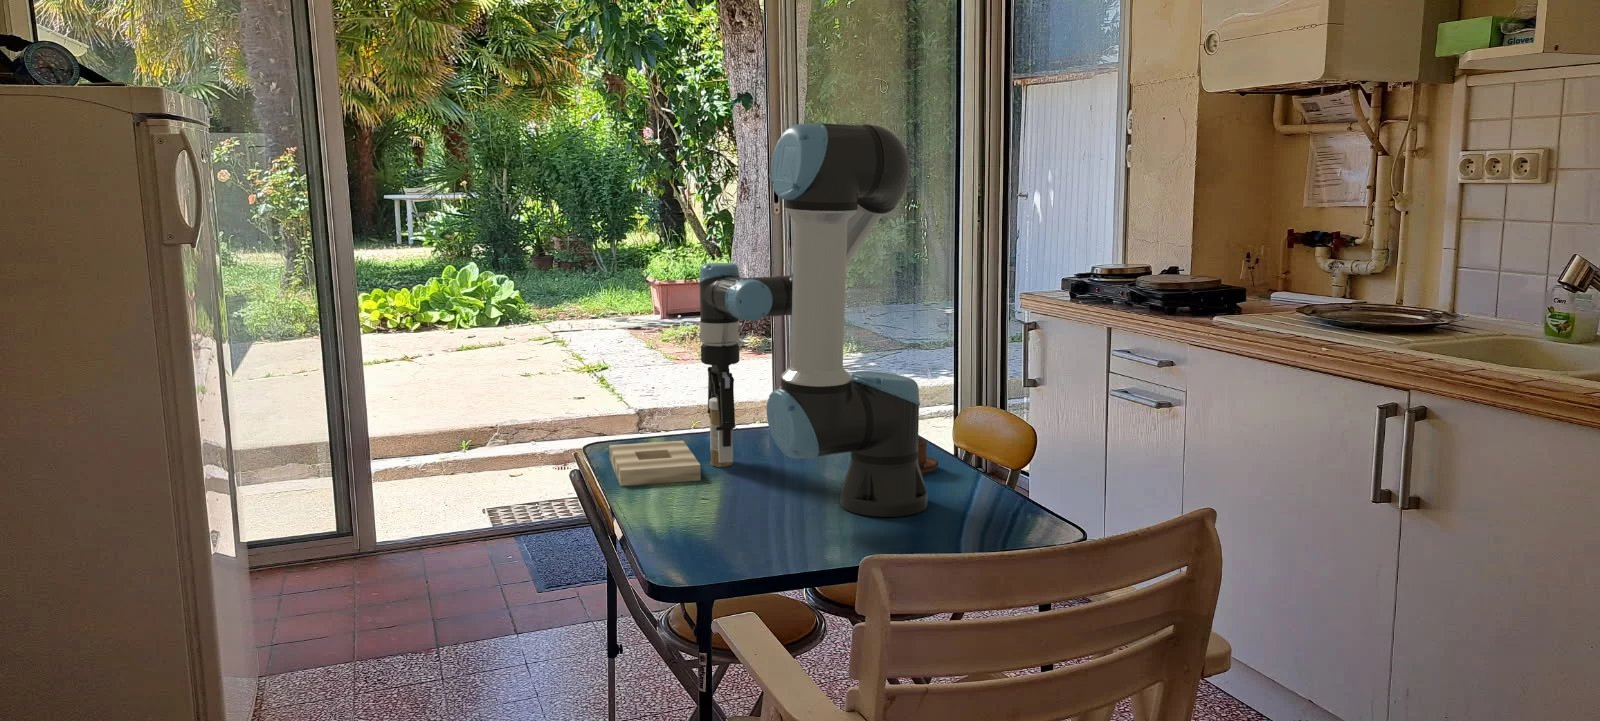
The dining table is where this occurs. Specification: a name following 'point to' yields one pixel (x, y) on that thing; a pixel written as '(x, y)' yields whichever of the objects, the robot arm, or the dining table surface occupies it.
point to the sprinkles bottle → (715, 434)
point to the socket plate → (654, 463)
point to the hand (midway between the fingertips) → (721, 456)
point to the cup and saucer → (925, 458)
